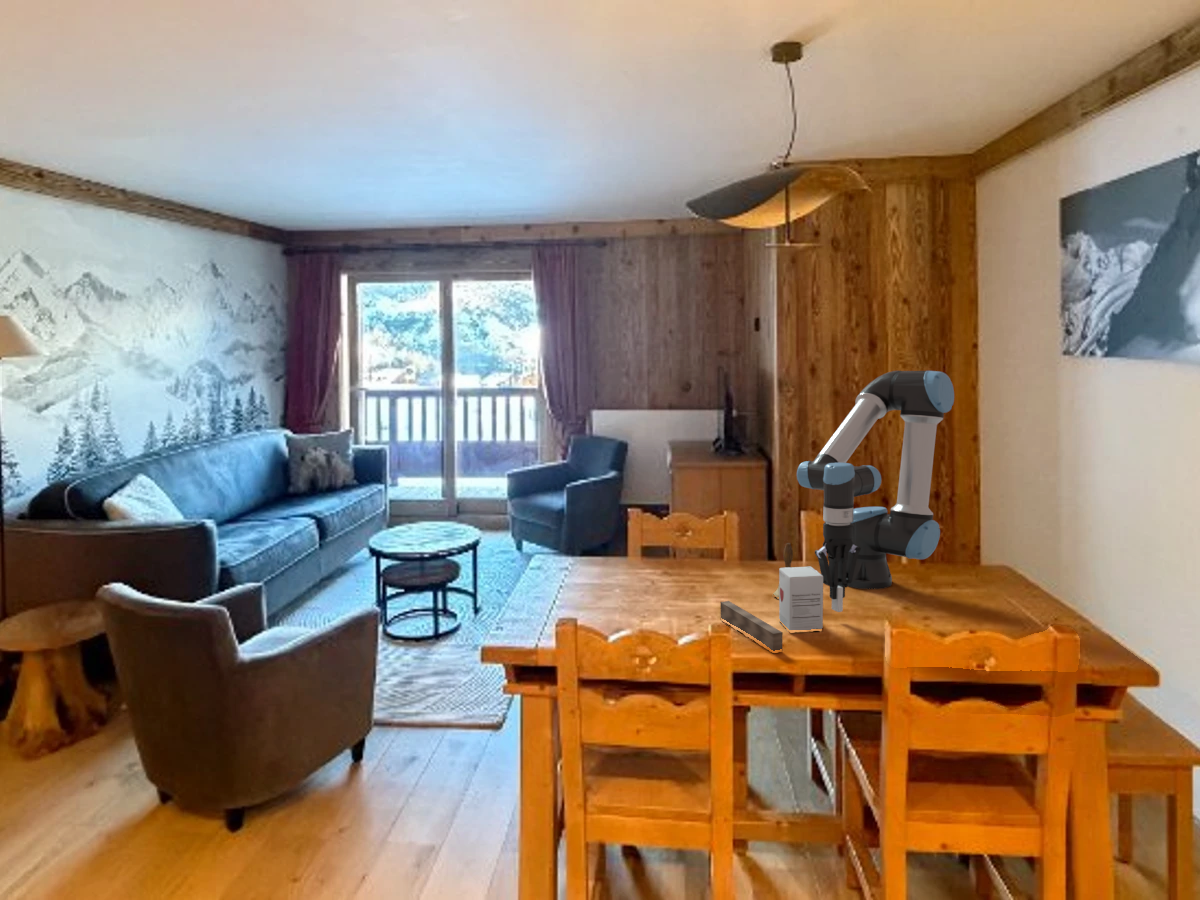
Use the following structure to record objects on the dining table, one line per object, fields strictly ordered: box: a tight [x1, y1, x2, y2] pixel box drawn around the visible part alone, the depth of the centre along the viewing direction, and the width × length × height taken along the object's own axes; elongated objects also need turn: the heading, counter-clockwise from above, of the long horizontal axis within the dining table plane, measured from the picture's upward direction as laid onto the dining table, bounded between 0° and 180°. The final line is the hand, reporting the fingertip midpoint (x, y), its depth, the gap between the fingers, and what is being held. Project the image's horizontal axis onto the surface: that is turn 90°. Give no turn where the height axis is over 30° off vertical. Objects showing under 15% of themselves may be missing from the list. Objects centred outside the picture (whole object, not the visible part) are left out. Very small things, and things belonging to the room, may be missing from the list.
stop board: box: [720, 600, 783, 651], centre depth 202 cm, size 26×2×5 cm, turn 20°
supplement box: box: [778, 565, 824, 630], centre depth 206 cm, size 9×9×15 cm
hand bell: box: [773, 542, 794, 597], centre depth 231 cm, size 8×8×16 cm
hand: (837, 610), depth 211 cm, fingers closed
